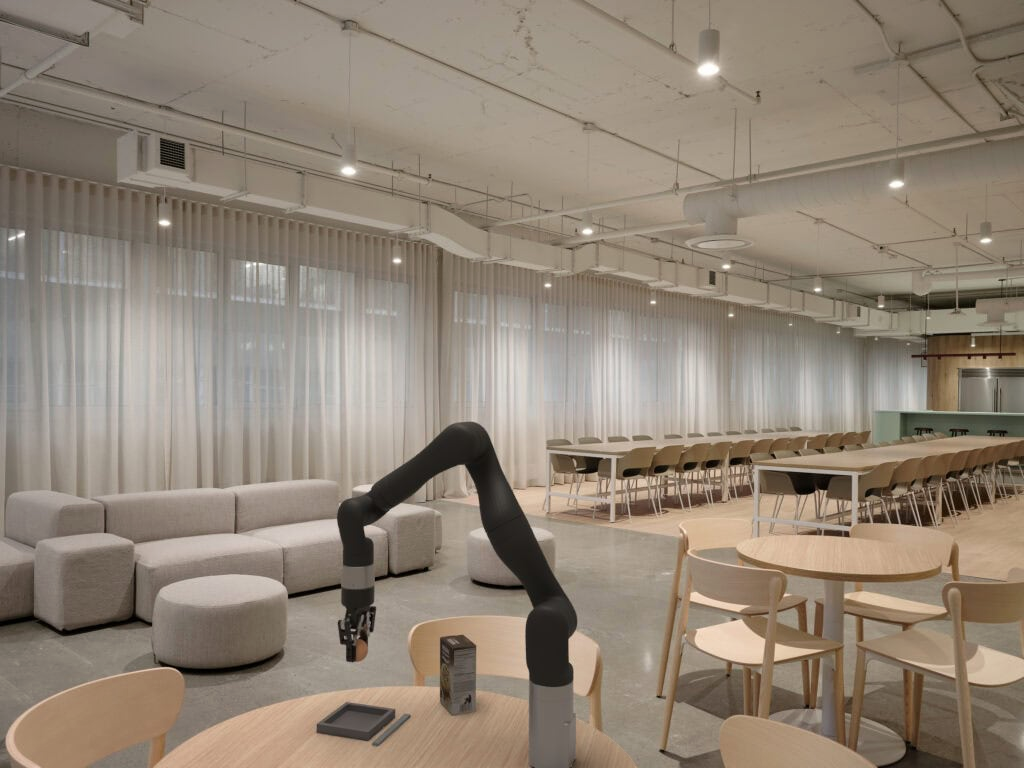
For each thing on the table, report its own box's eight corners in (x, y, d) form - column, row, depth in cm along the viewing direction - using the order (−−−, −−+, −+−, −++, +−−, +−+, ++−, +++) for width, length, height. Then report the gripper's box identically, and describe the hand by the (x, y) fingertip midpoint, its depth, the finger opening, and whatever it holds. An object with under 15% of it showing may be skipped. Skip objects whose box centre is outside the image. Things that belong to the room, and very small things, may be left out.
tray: (395, 717, 181) (395, 709, 181) (368, 741, 169) (368, 732, 169) (346, 710, 185) (346, 701, 185) (316, 732, 173) (316, 723, 173)
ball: (371, 659, 179) (372, 637, 179) (361, 666, 174) (361, 644, 174) (352, 656, 181) (353, 635, 181) (341, 663, 176) (341, 641, 176)
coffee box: (438, 702, 191) (439, 636, 191) (462, 697, 193) (463, 633, 194) (451, 716, 182) (451, 647, 183) (476, 711, 185) (477, 644, 185)
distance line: (410, 716, 182) (410, 714, 182) (378, 746, 167) (378, 743, 167) (404, 715, 182) (404, 713, 182) (372, 745, 167) (372, 742, 167)
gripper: (356, 592, 170) (355, 670, 169) (387, 577, 183) (386, 649, 183) (326, 589, 172) (326, 666, 172) (359, 575, 186) (358, 646, 185)
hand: (357, 657), depth 177 cm, fingers closed on ball, 5 cm apart
